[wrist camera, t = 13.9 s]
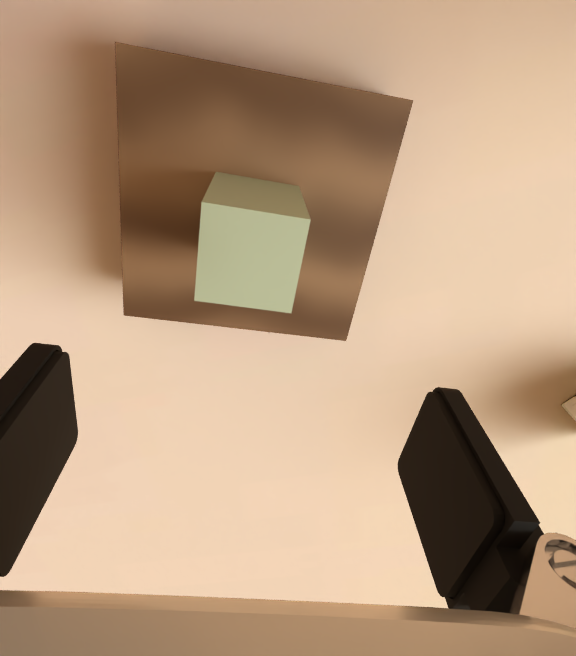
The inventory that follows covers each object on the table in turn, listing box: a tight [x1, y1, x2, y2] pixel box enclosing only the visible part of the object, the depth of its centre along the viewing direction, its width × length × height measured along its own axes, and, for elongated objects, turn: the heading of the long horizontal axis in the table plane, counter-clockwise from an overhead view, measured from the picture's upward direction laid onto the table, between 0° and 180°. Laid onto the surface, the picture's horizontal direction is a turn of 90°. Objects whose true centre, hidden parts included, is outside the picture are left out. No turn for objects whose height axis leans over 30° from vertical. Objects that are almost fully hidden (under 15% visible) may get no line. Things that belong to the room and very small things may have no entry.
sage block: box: [194, 172, 311, 313], centre depth 23 cm, size 5×5×7 cm
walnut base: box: [115, 42, 413, 341], centre depth 29 cm, size 16×16×5 cm
